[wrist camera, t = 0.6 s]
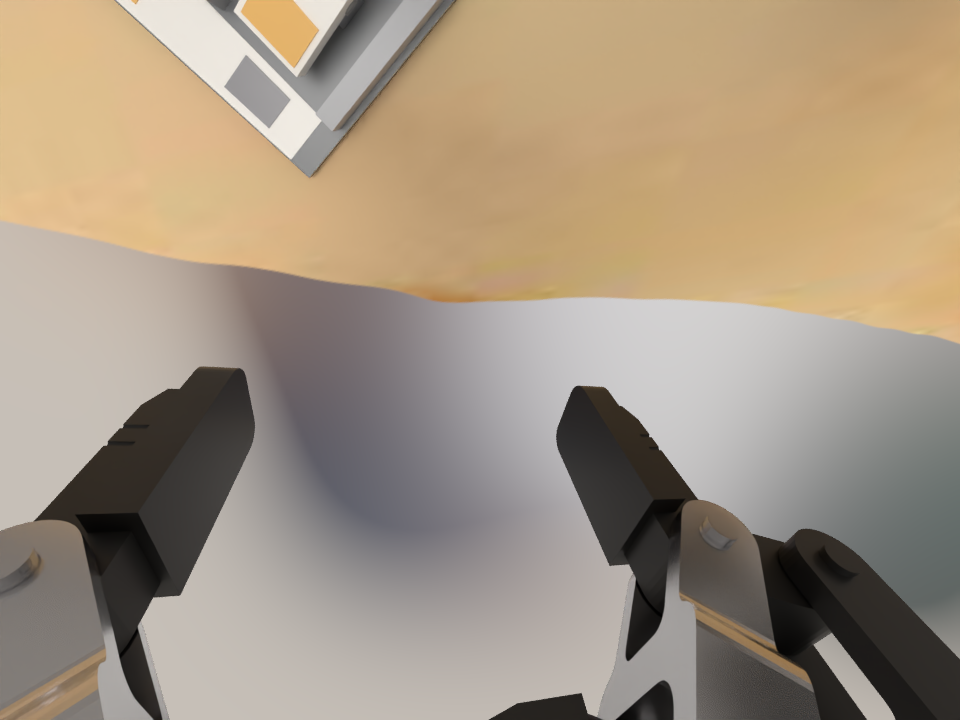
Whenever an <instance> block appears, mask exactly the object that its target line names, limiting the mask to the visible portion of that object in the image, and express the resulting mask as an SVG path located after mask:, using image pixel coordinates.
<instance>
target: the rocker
mask: <svg viewBox="0 0 960 720" xmlns="http://www.w3.org/2000/svg"><path fill="white" fill-rule="evenodd" d="M357 3H358V1H357V0H239V2H238V4H237V6H236V7H235V9H234V12H235V13H236V14H237V15H238V17H239V18H240V19H241V20H242V21H243V22H244V23H245V24H246V25H247V26H248V27H249V28H250V29H251V30H252V31H253V32H254V33H255V34H256V35H257V36H258V37H259V38H260V40H261V41H262V42H263V43H264V44H265V45H266V46H267V47H268V48H269V49H270V50H271V51H272V52H273V53H274V54H275V55H276V56H277V57H278V58H279V59H280V60H281V61H282V63H283V64H284V65H285V66H286V67H287V68H288V69H289V70H290V71H291V72H292V73H293V74H294V75H295V76H296V77H300V76H305V75H306V73H307V72H308V70H309V69H310V67H311V66H312V64H313V63H314V61H315V60H316V58H317V57H318V55H319V54H320V52H321V51H322V49H323V48H324V46H325V45H326V43H327V42H328V40H329V39H330V37H331V36H332V34H333V33H334V31H335V30H336V28H337V27H338V25H339V24H340V22H341V21H342V19H343V18H344V16H345V15H347V16H349V15H350V14H351V13H352V12H353V10H354V9H355V7H356V6H357Z"/></svg>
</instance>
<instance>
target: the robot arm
mask: <svg viewBox="0 0 960 720" xmlns="http://www.w3.org/2000/svg"><path fill="white" fill-rule="evenodd" d="M254 431H255V422H254V415H253V410H252V405H251V400H250V395H249V391H248V385H247V380H246V376H245V373H244V371H243V370H242V369H240V368H221V367H199V368H197V369H196V370H195V371H194V372H193V374H192V375H191V376H190V377H189V378H188V380H187V381H186V382H185V383H184V385H183V386H182V387H181V388H180V389H167V390H166V391H164V392H162V393H161V394H159V395H157V396H156V397H154V398H152V399H151V400H149V401H147V402H145V403H144V404H142V405H141V406H140V407H139V408H138V409H137V410H136V411H135V412H134V414H133V415H132V416H131V417H130V418H129V419H128V420H127V421H126V422H125V423H124V427H123V428H120V429H119V430H118V431H117V432H116V433H115V434H114V435H113V436H112V437H111V438H110V440H109V441H108V445H107V446H103V447H102V448H101V449H100V450H99V451H98V453H97V454H96V455H95V456H94V457H93V458H92V459H91V460H90V461H89V462H88V463H87V464H86V466H85V467H84V468H83V469H82V470H81V471H80V472H79V473H78V474H77V475H76V477H74V479H73V480H72V481H71V482H70V483H69V484H68V485H67V486H66V487H65V489H63V491H62V492H61V493H60V494H59V495H58V496H57V497H56V498H55V499H54V500H53V501H52V502H51V504H50V505H49V506H48V507H47V508H46V509H45V510H44V511H43V512H42V513H41V514H40V515H39V516H38V518H37V519H36V520H34V521H33V522H28V523H24V524H21V525H16V526H13V527H10V528H7V529H5V530H2V531H0V720H169V716H168V713H167V709H166V705H165V702H164V699H163V695H162V692H161V688H160V684H159V681H158V677H157V674H156V670H155V667H154V663H153V660H152V656H151V653H150V649H149V645H148V643H147V638H146V635H145V631H144V628H143V625H142V623H141V619H142V617H143V615H144V614H145V612H146V610H147V608H148V606H149V604H150V602H151V600H152V599H153V597H166V596H179V595H181V593H182V591H183V588H184V586H185V584H186V582H187V580H188V578H189V576H190V574H191V572H192V570H193V567H194V565H195V563H196V561H197V559H198V557H199V555H200V553H201V550H202V549H203V546H204V544H205V542H206V540H207V538H208V536H209V534H210V532H211V530H212V528H213V526H214V523H215V521H216V519H217V517H218V515H219V513H220V511H221V509H222V507H223V505H224V502H225V500H226V498H227V496H228V494H229V492H230V490H231V488H232V485H233V484H234V481H235V479H236V477H237V475H238V473H239V471H240V469H241V467H242V465H243V462H244V460H245V458H246V456H247V454H248V452H249V450H250V448H251V445H252V442H253V438H254ZM556 440H557V446H558V450H559V452H560V455H561V457H562V459H563V461H564V464H565V466H566V468H567V470H568V473H569V475H570V477H571V479H572V482H573V484H574V486H575V488H576V491H577V493H578V495H579V497H580V500H581V502H582V504H583V507H584V509H585V511H586V513H587V516H588V518H589V520H590V522H591V525H592V527H593V529H594V531H595V534H596V536H597V538H598V540H599V543H600V545H601V547H602V550H603V552H604V554H605V556H606V558H607V561H608V563H609V565H610V566H612V565H625V564H629V565H630V567H631V569H632V571H633V575H632V576H631V578H630V580H629V583H628V589H627V595H626V601H625V607H624V613H623V619H622V625H621V631H620V637H619V644H618V650H617V656H616V662H615V666H614V670H613V673H612V675H611V678H610V680H609V682H608V684H607V687H606V689H605V691H604V694H603V697H602V700H601V704H600V708H599V712H598V717H595V716H593V715H590V714H588V713H587V710H586V706H585V703H584V700H583V696H582V694H581V693H580V694H573V695H567V696H561V697H554V698H548V699H542V700H536V701H530V702H524V703H517V704H516V705H514V706H512V707H510V708H509V709H507V710H505V711H503V712H502V713H500V714H498V715H496V716H495V717H493V718H491V719H489V720H867V719H866V718H865V716H864V715H863V714H862V712H861V711H860V709H859V708H858V707H857V705H856V704H855V702H854V701H853V700H852V698H851V697H850V696H849V694H848V693H847V691H846V690H845V689H844V687H843V686H842V684H841V683H840V682H839V680H838V679H837V678H836V676H835V674H834V673H833V672H832V670H831V669H830V668H829V666H828V665H827V663H826V662H825V661H824V659H823V658H822V656H821V655H820V654H819V652H818V651H817V649H816V648H815V647H814V644H815V643H817V642H818V641H820V640H821V639H823V638H824V637H826V636H827V635H829V634H830V633H833V634H834V636H835V637H836V638H837V640H838V641H839V642H840V644H841V645H842V646H843V647H844V649H845V650H846V651H847V653H848V654H849V655H850V656H851V658H852V659H853V660H854V662H855V663H856V664H857V666H858V667H859V668H860V669H861V671H862V672H863V673H864V675H865V676H866V677H867V679H868V680H869V681H870V682H871V684H872V685H873V686H874V688H875V689H876V690H877V692H878V693H879V694H880V695H881V697H882V698H883V699H884V701H885V702H886V703H887V705H888V706H889V708H890V709H891V711H892V713H893V715H894V716H895V719H896V720H960V659H959V658H958V657H957V656H956V655H955V654H954V653H953V652H952V651H951V650H950V649H949V648H948V647H947V646H946V645H945V644H944V643H943V642H942V640H940V638H939V637H938V636H937V635H936V634H935V633H934V632H933V631H932V630H931V629H930V628H929V627H928V626H927V625H926V624H925V623H924V622H923V621H922V620H921V619H920V618H919V617H918V616H917V615H916V614H915V613H914V612H913V611H912V609H911V608H910V607H909V606H908V605H907V604H906V603H905V602H904V601H903V600H902V599H901V598H900V597H899V596H898V595H897V594H896V593H895V592H894V591H893V590H892V589H891V588H890V587H889V586H888V585H887V584H886V583H885V582H884V581H883V580H882V579H881V578H880V576H879V575H877V573H876V572H875V571H874V570H873V569H872V568H871V567H870V566H869V565H868V564H867V563H866V562H865V561H864V560H863V559H862V558H861V557H860V556H859V555H857V554H856V553H855V552H854V551H853V550H851V549H850V548H849V547H847V546H845V545H844V544H843V543H841V542H840V541H838V540H836V539H835V538H833V537H831V536H829V535H827V534H825V533H822V532H820V531H817V530H812V529H801V530H798V531H797V532H796V533H795V534H794V535H793V536H792V537H791V538H790V539H789V540H788V541H787V542H785V543H784V542H781V541H777V540H773V539H770V538H766V537H762V536H758V535H755V534H751V532H750V531H749V530H748V528H747V527H746V526H745V525H744V524H743V523H742V522H741V521H740V520H739V519H738V518H737V517H735V516H734V515H733V514H732V513H730V512H729V511H727V510H726V509H724V508H722V507H720V506H718V505H716V504H713V503H711V502H708V501H704V500H698V499H697V497H696V496H695V495H694V493H693V492H692V491H691V489H690V488H689V487H688V485H687V484H686V483H685V481H684V480H683V479H682V477H681V476H680V475H679V473H678V472H677V471H676V469H675V468H674V467H673V465H672V464H671V463H670V461H669V460H668V459H667V457H666V456H665V455H664V453H663V452H662V451H661V450H659V448H658V445H657V444H656V443H655V441H654V440H653V439H652V437H649V433H648V432H647V431H646V429H645V428H644V427H643V425H642V424H641V423H640V421H639V420H638V419H637V418H636V417H635V416H633V415H632V414H631V413H629V412H628V411H627V410H626V409H625V408H623V407H622V406H619V405H618V404H617V402H616V401H615V400H614V398H613V397H612V395H611V394H610V393H609V391H608V390H607V389H606V388H604V387H593V386H576V387H575V388H574V389H573V390H572V392H571V394H570V397H569V399H568V402H567V405H566V407H565V410H564V412H563V415H562V418H561V420H560V423H559V425H558V429H557V434H556Z"/></svg>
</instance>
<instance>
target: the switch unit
mask: <svg viewBox="0 0 960 720" xmlns="http://www.w3.org/2000/svg"><path fill="white" fill-rule="evenodd" d="M115 1H116V2H117V3H118V4H119V5H120V6H121V7H122V8H123V9H124V10H126V11H127V12H128V13H129V14H130V15H131V16H132V17H133V18H134V19H135V20H136V21H138V22H139V23H140V24H141V25H142V26H143V27H144V28H145V29H146V30H147V31H149V32H150V33H151V34H152V35H153V36H154V37H155V38H156V39H157V40H158V41H160V42H161V43H162V44H163V45H164V46H165V47H166V48H167V49H168V50H169V51H171V52H172V53H173V54H174V55H175V56H176V57H177V58H178V59H179V60H180V61H182V62H183V63H184V64H185V65H186V66H187V67H188V68H189V69H190V70H191V71H192V72H194V73H195V74H196V75H197V76H198V77H199V78H200V79H201V80H202V81H203V82H205V83H206V84H207V85H208V86H209V87H210V88H211V89H212V90H213V91H214V92H216V93H217V94H218V95H219V96H220V97H221V98H222V99H223V100H224V101H225V102H227V103H228V104H229V105H230V106H231V107H232V108H233V109H234V110H235V111H236V112H237V113H239V114H240V115H241V116H242V117H243V118H244V119H245V120H246V121H247V122H248V123H250V124H251V125H252V126H253V127H254V128H255V129H256V130H257V131H258V132H259V133H261V134H262V135H263V136H264V137H265V138H266V139H267V140H268V141H269V142H270V143H272V144H273V145H274V146H275V147H276V148H277V149H278V150H279V151H280V152H281V153H283V154H284V155H285V156H286V157H287V158H288V159H289V160H290V161H291V162H292V163H293V164H295V165H296V166H297V167H298V168H299V169H300V170H301V171H302V172H303V173H304V174H306V175H307V176H308V177H309V178H310V177H311V176H312V175H313V174H314V173H315V172H316V171H317V169H318V168H319V167H320V166H321V164H322V163H323V162H324V161H325V160H326V158H327V157H328V156H329V155H330V153H331V152H332V151H333V150H334V148H335V147H336V146H337V145H338V144H339V142H340V141H341V140H342V139H343V137H344V136H345V135H346V134H347V133H348V131H349V130H350V129H351V128H352V126H353V125H354V124H355V123H356V122H357V120H358V119H359V118H360V117H361V115H362V114H363V113H364V112H365V111H366V109H367V108H368V107H369V106H370V104H371V103H372V102H373V101H374V99H375V98H376V97H377V96H378V95H379V93H380V92H381V91H382V90H383V88H384V87H385V86H386V85H387V84H388V82H389V81H390V80H391V79H392V77H393V76H394V75H395V74H396V73H397V71H398V70H399V69H400V68H401V66H402V65H403V64H404V63H405V62H406V60H407V59H408V58H409V57H410V55H411V54H412V53H413V52H414V50H415V49H416V48H417V47H418V46H419V44H420V43H421V42H422V41H423V39H424V38H425V37H426V36H427V35H428V33H429V32H430V31H431V30H432V28H433V27H434V26H435V25H436V24H437V22H438V21H439V20H440V19H441V17H442V16H443V15H444V14H445V13H446V11H447V10H448V9H449V8H450V6H451V5H452V4H453V3H454V1H455V0H357V1H358V3H357V6H356V7H355V9H354V10H353V12H352V13H351V14H350V15H349V16H347V15H345V16H344V18H343V19H342V21H341V22H340V24H339V25H338V27H337V28H336V30H335V31H334V33H333V34H332V36H331V37H330V39H329V40H328V42H327V43H326V45H325V46H324V48H323V49H322V51H321V52H320V54H319V55H318V57H317V58H316V60H315V61H314V63H313V64H312V66H311V67H310V69H309V70H308V72H307V73H306V75H305V76H300V77H296V76H295V75H294V74H293V73H292V72H291V71H290V70H289V69H288V68H287V67H286V66H285V65H284V64H283V63H282V61H281V60H280V59H279V58H278V57H277V56H276V55H275V54H274V53H273V52H272V51H271V50H270V49H269V48H268V47H267V46H266V45H265V44H264V43H263V42H262V41H261V40H260V38H259V37H258V36H257V35H256V34H255V33H254V32H253V31H252V30H251V29H250V28H249V27H248V26H247V25H246V24H245V23H244V22H243V21H242V20H241V19H240V18H239V17H238V15H237V14H236V13H235V12H234V9H235V7H236V6H237V4H238V2H239V0H115Z"/></svg>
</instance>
